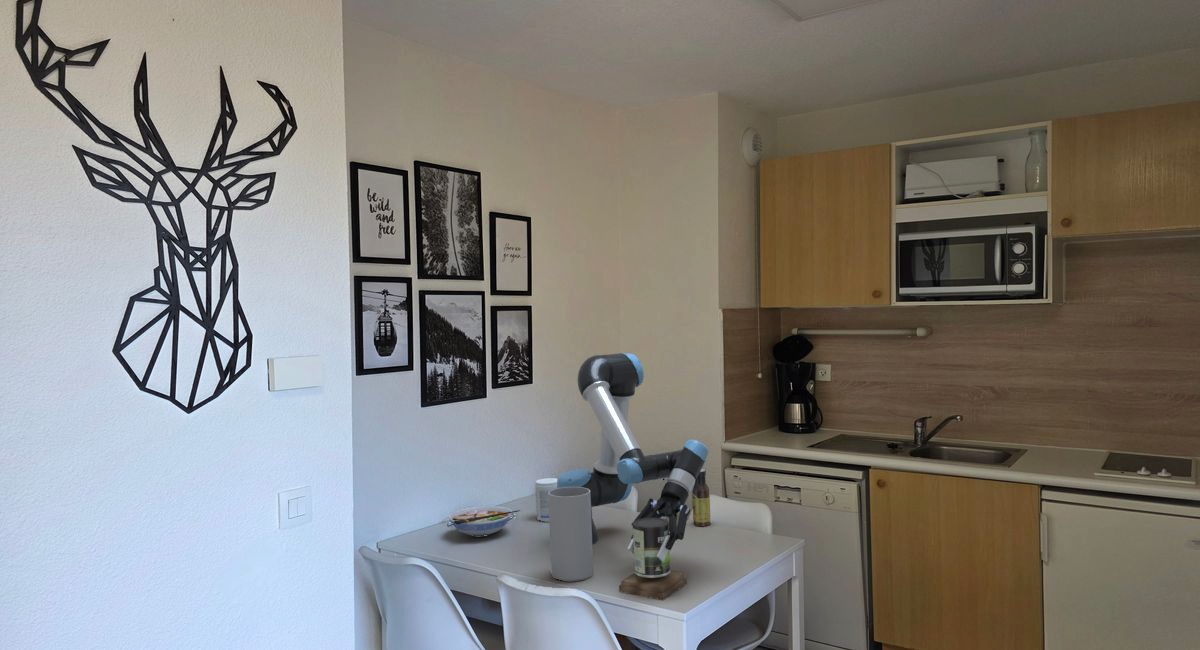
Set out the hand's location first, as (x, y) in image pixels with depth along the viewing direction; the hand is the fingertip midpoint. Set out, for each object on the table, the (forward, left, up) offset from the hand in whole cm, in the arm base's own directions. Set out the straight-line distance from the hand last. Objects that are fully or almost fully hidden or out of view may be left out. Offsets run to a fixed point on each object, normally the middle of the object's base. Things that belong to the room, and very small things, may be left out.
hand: (645, 555), depth 219 cm
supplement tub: (-70, +48, -10) cm, 85 cm away
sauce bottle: (-15, +66, -10) cm, 68 cm away
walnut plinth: (+1, +3, -10) cm, 10 cm away
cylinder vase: (-26, +1, -10) cm, 28 cm away
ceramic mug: (-24, +58, -10) cm, 64 cm away
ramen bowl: (-80, +21, -10) cm, 83 cm away
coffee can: (+1, +3, -6) cm, 6 cm away
